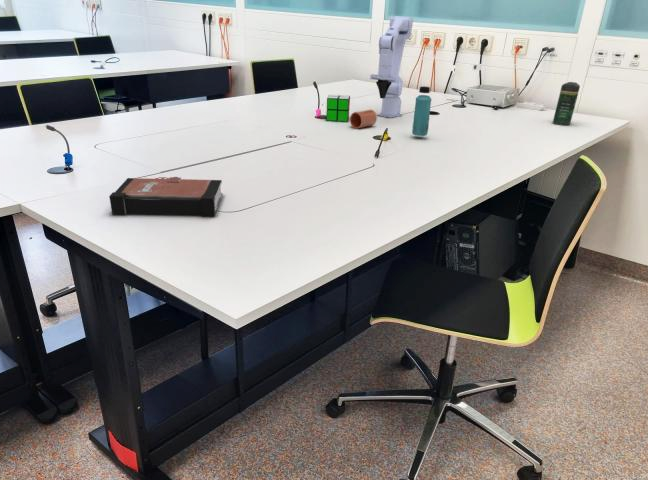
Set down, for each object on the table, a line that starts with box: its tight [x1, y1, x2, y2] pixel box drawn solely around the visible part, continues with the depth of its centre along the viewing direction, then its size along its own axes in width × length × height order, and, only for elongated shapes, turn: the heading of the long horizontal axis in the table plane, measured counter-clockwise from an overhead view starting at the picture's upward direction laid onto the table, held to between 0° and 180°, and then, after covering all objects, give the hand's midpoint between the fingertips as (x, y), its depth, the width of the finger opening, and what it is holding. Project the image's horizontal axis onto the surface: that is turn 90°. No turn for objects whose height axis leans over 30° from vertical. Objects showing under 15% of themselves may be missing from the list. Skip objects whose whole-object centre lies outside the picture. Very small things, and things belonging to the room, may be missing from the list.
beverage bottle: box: [411, 85, 432, 137], centre depth 220 cm, size 6×7×20 cm
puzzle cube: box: [325, 94, 351, 123], centre depth 250 cm, size 10×10×10 cm
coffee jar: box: [552, 81, 581, 126], centre depth 256 cm, size 10×8×19 cm
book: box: [108, 176, 224, 218], centre depth 146 cm, size 26×18×5 cm
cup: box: [349, 109, 377, 130], centre depth 238 cm, size 7×7×10 cm
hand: (382, 98), depth 245 cm, fingers closed
